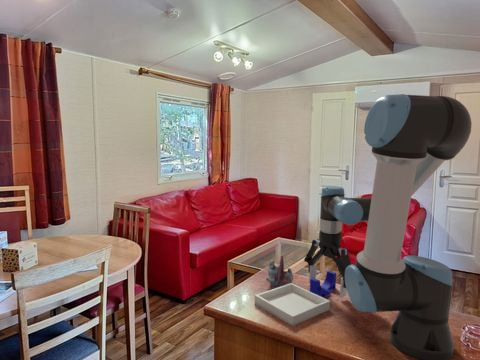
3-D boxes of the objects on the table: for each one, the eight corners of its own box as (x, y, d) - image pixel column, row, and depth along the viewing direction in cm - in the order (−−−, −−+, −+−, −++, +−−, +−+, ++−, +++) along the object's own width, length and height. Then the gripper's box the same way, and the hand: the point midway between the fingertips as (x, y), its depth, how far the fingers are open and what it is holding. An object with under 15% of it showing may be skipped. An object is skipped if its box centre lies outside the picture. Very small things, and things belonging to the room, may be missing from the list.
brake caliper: (297, 285, 125) (278, 257, 126) (272, 300, 128) (253, 272, 129) (300, 273, 136) (282, 248, 137) (277, 287, 139) (259, 262, 140)
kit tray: (329, 309, 113) (330, 300, 112) (292, 326, 102) (292, 316, 102) (291, 290, 126) (291, 282, 126) (254, 303, 116) (254, 295, 115)
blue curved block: (320, 300, 120) (321, 283, 119) (309, 295, 123) (310, 279, 122) (339, 290, 128) (340, 274, 128) (328, 286, 131) (329, 270, 131)
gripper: (368, 237, 115) (364, 299, 118) (310, 221, 135) (307, 274, 137) (355, 241, 110) (350, 305, 113) (296, 224, 130) (293, 279, 133)
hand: (327, 288), depth 125 cm, fingers open, 13 cm apart
